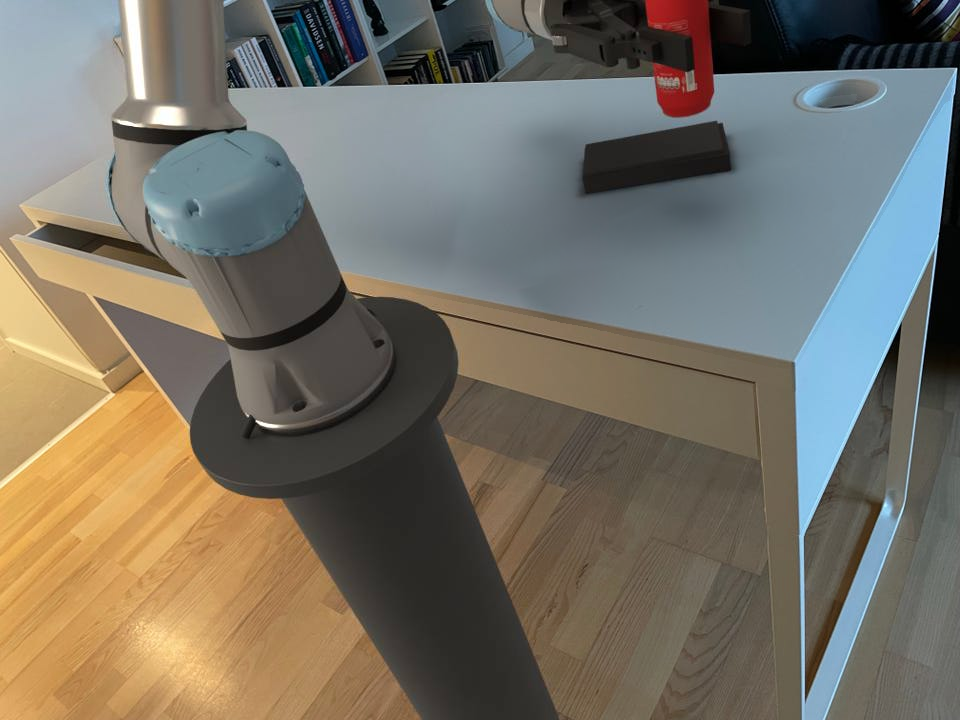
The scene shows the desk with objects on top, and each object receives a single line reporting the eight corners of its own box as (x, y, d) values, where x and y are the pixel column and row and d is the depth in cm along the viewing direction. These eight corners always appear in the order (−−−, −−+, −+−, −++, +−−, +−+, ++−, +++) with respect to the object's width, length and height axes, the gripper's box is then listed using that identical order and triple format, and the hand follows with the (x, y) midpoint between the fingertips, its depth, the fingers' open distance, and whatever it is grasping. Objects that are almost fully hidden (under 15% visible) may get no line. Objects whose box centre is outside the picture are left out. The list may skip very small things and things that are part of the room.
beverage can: (647, 111, 74) (630, -20, 67) (691, 91, 75) (679, -41, 68) (681, 124, 70) (667, -14, 63) (727, 102, 71) (718, -36, 64)
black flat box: (723, 138, 90) (722, 118, 88) (730, 170, 84) (729, 148, 82) (587, 162, 94) (584, 143, 92) (585, 193, 88) (581, 174, 86)
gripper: (648, 12, 86) (804, 45, 68) (509, 74, 82) (634, 126, 65) (639, -60, 82) (804, -45, 64) (491, 2, 78) (621, 36, 60)
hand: (718, 41), depth 64 cm, fingers closed on beverage can, 5 cm apart
